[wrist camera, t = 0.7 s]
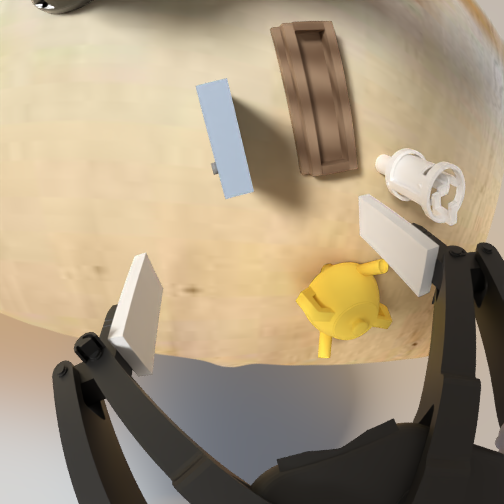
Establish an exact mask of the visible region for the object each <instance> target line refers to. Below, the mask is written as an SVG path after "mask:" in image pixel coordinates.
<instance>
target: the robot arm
mask: <svg viewBox="0 0 504 504" xmlns="http://www.w3.org/2000/svg"><path fill="white" fill-rule="evenodd" d="M31 1H32V3H33V4H34V5H35V6H36V7H37V8H38V9H40V10H43V11H45V12H47V13H51V14H60V13H66V12H69V11H72V10H75V9H78V8H80V7H82V6H84V5H86V4H88V3H89V2H91V1H93V0H31ZM359 223H360V236H361V237H362V238H363V239H364V240H365V241H366V242H367V243H368V244H369V245H370V246H371V247H372V248H373V249H374V250H375V251H376V252H377V253H378V254H379V255H380V256H381V257H382V258H383V259H384V260H385V261H386V262H387V263H388V264H389V265H390V267H391V268H392V269H393V270H394V271H395V272H396V273H397V274H398V275H399V276H400V277H401V278H402V280H403V281H404V282H405V283H406V284H407V285H408V286H409V287H410V288H411V290H412V291H413V292H414V293H415V294H416V295H417V296H418V297H420V296H422V295H425V294H427V293H429V292H430V288H431V284H432V283H433V284H434V285H435V286H436V290H435V293H434V297H433V301H432V304H434V314H433V326H432V335H431V344H430V351H429V358H428V365H427V371H426V376H425V382H424V387H423V392H422V396H421V401H420V405H419V408H418V411H417V414H416V416H415V418H414V421H413V423H397V424H396V423H395V420H394V419H391V420H389V421H387V422H385V423H383V424H381V425H378V426H376V427H374V428H372V429H369V430H367V431H366V432H364V433H363V434H361V435H360V436H358V437H357V438H356V439H354V440H353V441H351V442H350V443H348V444H347V445H345V446H343V447H342V448H339V449H332V450H321V451H308V452H303V453H301V454H296V455H292V456H288V457H284V458H281V459H277V463H278V465H276V466H274V467H272V468H270V469H269V470H267V471H266V472H264V473H263V474H262V475H260V476H259V477H258V478H257V479H256V480H255V482H254V483H253V484H252V485H249V484H248V483H246V482H245V481H244V480H242V479H241V478H239V477H238V476H236V475H235V474H233V473H232V472H231V471H229V470H228V469H227V468H226V467H224V466H223V465H221V464H220V463H219V462H218V461H216V460H215V459H214V458H213V457H212V456H211V455H209V454H208V453H207V452H206V451H205V450H203V449H202V448H201V447H200V446H199V445H198V444H197V443H195V442H194V441H193V440H192V439H191V438H190V437H189V436H188V435H187V434H186V433H185V432H183V431H182V430H181V429H180V428H179V427H178V426H177V425H176V424H175V423H174V422H173V421H172V420H171V419H170V418H169V417H168V416H167V415H166V414H165V413H164V412H163V411H162V410H161V409H160V408H159V407H158V406H157V405H156V404H155V402H154V401H153V400H152V399H151V398H150V397H149V396H148V395H147V394H146V393H145V392H144V390H143V389H142V388H141V387H140V386H139V385H138V383H136V381H135V380H134V379H133V378H132V377H131V375H132V370H133V371H134V372H135V373H136V374H137V375H138V376H145V375H152V373H153V362H154V353H155V344H156V336H157V328H158V320H159V313H160V306H161V300H162V293H163V287H162V285H161V283H160V281H159V279H158V277H157V275H156V273H155V271H154V268H153V266H152V264H151V262H150V260H149V258H148V256H147V253H143V254H139V255H136V256H135V257H134V260H133V262H132V265H131V268H130V270H129V273H128V276H127V279H126V282H125V284H124V287H123V290H122V293H121V296H120V299H119V302H118V304H117V305H113V306H112V307H111V309H110V310H109V311H108V313H107V315H106V318H105V322H104V325H103V328H102V331H101V334H100V337H98V336H97V335H96V334H95V333H94V332H89V333H85V334H84V335H82V336H81V337H80V338H79V339H78V340H77V342H76V343H75V346H74V351H75V353H76V354H77V355H78V356H79V357H80V359H81V360H82V361H83V362H82V363H80V364H78V365H76V366H74V365H73V364H72V363H71V362H69V361H62V362H60V363H59V364H58V365H57V366H56V367H55V369H54V371H53V376H52V378H53V389H54V399H55V407H56V414H57V420H58V427H59V432H60V438H61V442H62V447H63V452H64V456H65V459H66V464H67V468H68V471H69V474H70V478H71V482H72V485H73V488H74V491H75V494H76V497H77V500H78V503H79V504H147V502H146V501H145V499H144V497H143V495H142V493H141V491H140V489H139V487H138V485H137V483H136V481H135V479H134V477H133V475H132V472H131V471H130V468H129V466H128V464H127V461H126V459H125V457H124V454H123V452H122V449H121V447H120V444H119V442H118V439H117V437H116V434H115V431H114V428H113V426H112V423H111V420H110V417H109V414H108V411H107V408H106V405H105V401H104V399H107V400H108V402H109V403H110V405H111V406H112V408H113V409H114V411H115V412H116V414H117V415H118V416H119V418H120V419H121V420H122V422H123V423H124V425H125V426H126V427H127V429H128V430H129V431H130V433H131V434H132V435H133V436H134V438H135V439H136V440H137V441H138V442H139V444H140V445H141V446H142V447H143V449H144V450H145V451H146V452H147V453H148V455H149V456H150V457H151V458H152V459H153V460H154V461H155V463H156V464H157V465H158V466H159V467H160V468H161V469H162V470H163V471H164V472H165V473H166V474H167V475H168V477H169V478H170V479H171V480H172V485H173V486H174V488H175V489H176V490H177V491H178V492H179V493H180V494H181V495H182V496H183V497H184V498H185V499H186V500H187V501H188V502H189V503H190V504H504V260H503V259H502V257H501V256H500V254H499V252H498V251H497V249H496V248H495V247H494V246H492V245H491V244H488V243H484V242H483V243H479V244H477V248H476V252H469V253H467V252H466V251H465V250H464V249H463V248H461V247H458V246H446V245H445V244H444V243H443V242H441V241H440V240H439V239H438V238H436V237H435V236H434V235H432V234H431V233H430V232H428V231H427V230H426V229H425V228H423V227H422V226H420V225H417V224H415V223H412V224H411V223H409V222H408V221H407V220H405V219H404V218H403V217H401V216H400V215H399V214H397V213H396V212H394V211H393V210H392V209H390V208H389V207H387V206H386V205H384V204H383V203H382V202H380V201H379V200H377V199H376V198H374V197H373V196H371V195H370V194H366V195H362V196H359ZM475 318H476V320H477V324H478V327H479V331H480V334H481V338H482V341H483V345H484V349H485V353H486V357H487V362H488V366H489V371H490V376H491V382H492V387H493V393H494V400H495V407H496V412H497V418H498V422H499V426H500V431H499V436H498V437H497V438H496V441H495V445H496V447H497V448H498V449H499V452H497V451H493V450H490V449H487V448H484V447H481V446H478V445H475V444H473V443H474V438H475V433H476V426H477V420H478V412H479V402H480V391H481V382H480V379H476V377H475V370H476V368H475V367H476V325H475Z"/></svg>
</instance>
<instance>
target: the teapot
mask: <svg viewBox="0 0 504 504" xmlns="http://www.w3.org/2000/svg"><path fill="white" fill-rule="evenodd" d="M388 267H389V266H388V263H387V262H386V261H385V260H384V259H379V260H375V261H371V262H368V263H364V264H358V263H353V262H345V263H339V264H336V265H332V264H326V265H324V266H323V267H322V269H321V273H320V274H318V275H317V276H316V277H315V279H314V280H313V281H312V282H311V284H310V285H309V287H308V288H307V289H305V290H303V291H302V292H301V293H300V295H299V296H298V298H297V299H296V302H297V304H298V305H299V306H300V307H301V309H302V310H303V311H304V312H305V315H306V316H307V318H308V320H309V321H310V322H311V323H312V325H313V326H314V327H315V328H317V329H318V330H319V331H320V338H319V351H318V358H330V354H331V343H332V337H333V338H336V339H340V340H351V339H354V338H357V337H359V336H361V335H363V334H364V333H366V332H367V331H368V330H369V329H370V328H371V327H378V328H384V329H388V327H389V326H390V324H391V323H392V319H391V316H390V314H389V311H388V309H387V306H385V305H383V304H381V303H379V300H380V298H379V289H378V285H377V283H376V280H375V278H374V276H373V275H377V274H384V273H386V272H387V271H388Z"/></svg>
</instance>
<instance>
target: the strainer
mask: <svg viewBox="0 0 504 504" xmlns="http://www.w3.org/2000/svg"><path fill="white" fill-rule="evenodd" d="M411 153H412V154H414V155H415V156H413V155H411ZM375 167H376V170H377V171H378V172H379V173H381V174H383V175H385V180H386V185H387V188H388V190H389V191H390V193H391V194H392V195H394V196H395V197H397V198H399V199H400V200H403V201H410V200H413V201H414V202H416V203H418V204H419V205H421V207H422V210H423V211H424V212H425V215H426V216H427V217H429V218H430V219H432V220H433V221H435V222H437V223H444V222H446V223H447V224H449V225H450V226H452V225H454V224H455V223H457V212H458V210H459V208H460V206H461V204H462V202H463V199H464V194H465V179H464V175H463V173H462V171H461V170H460V168H459V167H458V166H456V165H454V164H451V163H449V162H439V163H437V164H434V163H432V162H429V161H427V160H426V159H425V158H424V156H423V155H422V154H421V153H420V152H418V151H416V150H413V149H410V148H403V149H400V150H398V151H397V152H395V153H394V154H393V155H392V157H391V156H389V155H386V154H382V155H380V156H379V157H378V158H377V159H376V163H375ZM449 168H451V169H452V170H453V172H454V173H455V176H456V177H455V176H453V175H451V174H449V173H447V172H444V170H445V169H449ZM450 184H451V185H453V186H455V187H457V190H456V195H455V198H454V200H453V201H451V202H450V203H448V210H447V209H446V208H444V207H442V206H441V196H442V197H443V196H445V194H447V195H448V192H449V186H450ZM432 187H433V188H435V189H437V192H435V193H433V194H432V197H431V199H430V193H431V189H432ZM397 192H399V193H401V194H402V195H400V194H398V193H397ZM430 206H433V208H432V211H433V213H432V211H431V208H430Z"/></svg>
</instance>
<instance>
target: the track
mask: <svg viewBox="0 0 504 504" xmlns="http://www.w3.org/2000/svg"><path fill="white" fill-rule="evenodd" d="M270 31H271V35H272V39H273V43H274V46H275V50H276V54H277V59H278V63H279V67H280V71H281V75H282V80H283V84H284V89H285V93H286V98H287V103H288V108H289V113H290V118H291V123H292V128H293V133H294V138H295V144H296V149H297V155H298V161H299V167H300V173H301V174H302V175H305V174H311V175H312V176H319V175H328V174H333V173H338V172H343V171H348V170H353V169H358V166H357V156H356V146H355V138H354V130H353V122H352V115H351V109H350V103H349V97H348V91H347V85H346V80H345V75H344V70H343V65H342V61H341V56H340V52H339V47H338V43H337V39H336V35H335V32H334V28H333V24H332V21H304V22H293V23H282V24H281V25H280V26H279V27H273V28H271V29H270Z"/></svg>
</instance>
